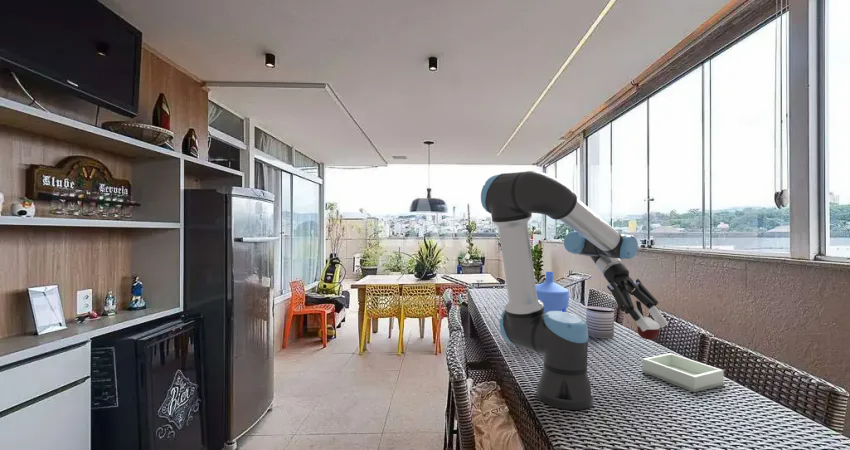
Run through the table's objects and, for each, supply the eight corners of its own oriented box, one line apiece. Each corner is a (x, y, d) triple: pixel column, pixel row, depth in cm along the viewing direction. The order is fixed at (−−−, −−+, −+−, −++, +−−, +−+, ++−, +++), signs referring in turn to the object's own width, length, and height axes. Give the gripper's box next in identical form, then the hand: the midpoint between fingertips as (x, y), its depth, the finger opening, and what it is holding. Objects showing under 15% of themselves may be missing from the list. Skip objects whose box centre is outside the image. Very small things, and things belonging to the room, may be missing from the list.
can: (580, 334, 180) (581, 306, 179) (592, 329, 187) (593, 303, 187) (606, 340, 171) (607, 311, 171) (618, 334, 179) (619, 307, 178)
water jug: (535, 344, 164) (537, 274, 164) (524, 333, 180) (526, 269, 179) (574, 344, 165) (575, 274, 164) (560, 333, 180) (561, 269, 180)
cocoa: (655, 336, 134) (657, 299, 134) (666, 341, 127) (669, 303, 127) (626, 334, 133) (628, 298, 133) (636, 340, 127) (638, 301, 127)
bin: (694, 392, 120) (694, 377, 120) (642, 372, 136) (642, 358, 136) (723, 384, 126) (723, 370, 126) (670, 365, 142) (670, 353, 142)
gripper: (626, 273, 148) (668, 329, 134) (584, 277, 139) (624, 337, 125) (640, 260, 143) (685, 317, 129) (597, 263, 134) (640, 324, 120)
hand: (655, 327), depth 127 cm, fingers closed on cocoa, 8 cm apart
